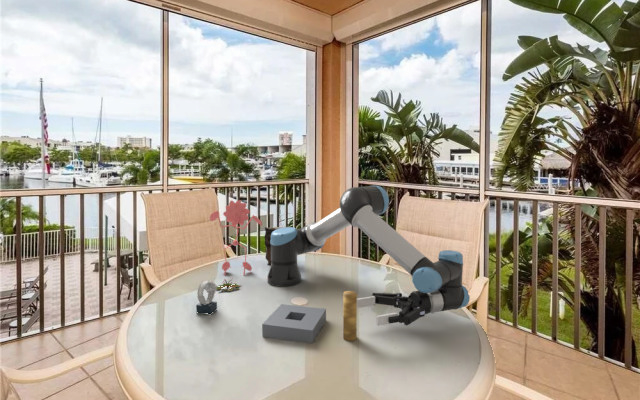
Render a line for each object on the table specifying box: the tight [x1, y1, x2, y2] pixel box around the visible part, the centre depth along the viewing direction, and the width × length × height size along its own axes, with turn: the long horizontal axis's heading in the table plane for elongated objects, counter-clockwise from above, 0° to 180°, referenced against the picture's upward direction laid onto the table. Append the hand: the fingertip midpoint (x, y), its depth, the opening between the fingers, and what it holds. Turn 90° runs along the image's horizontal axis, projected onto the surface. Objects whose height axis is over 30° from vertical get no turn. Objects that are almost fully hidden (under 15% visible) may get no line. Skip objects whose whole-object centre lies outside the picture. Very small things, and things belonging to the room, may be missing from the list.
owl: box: [264, 226, 287, 267], centre depth 185 cm, size 13×13×20 cm
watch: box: [195, 280, 218, 315], centre depth 127 cm, size 6×8×11 cm
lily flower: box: [216, 278, 241, 292], centre depth 151 cm, size 12×12×5 cm
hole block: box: [261, 303, 327, 344], centre depth 114 cm, size 16×16×4 cm
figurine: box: [209, 199, 263, 276], centre depth 173 cm, size 15×26×35 cm, turn 86°
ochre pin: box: [342, 290, 358, 342], centre depth 107 cm, size 4×4×14 cm
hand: (366, 311), depth 108 cm, fingers open, 13 cm apart
